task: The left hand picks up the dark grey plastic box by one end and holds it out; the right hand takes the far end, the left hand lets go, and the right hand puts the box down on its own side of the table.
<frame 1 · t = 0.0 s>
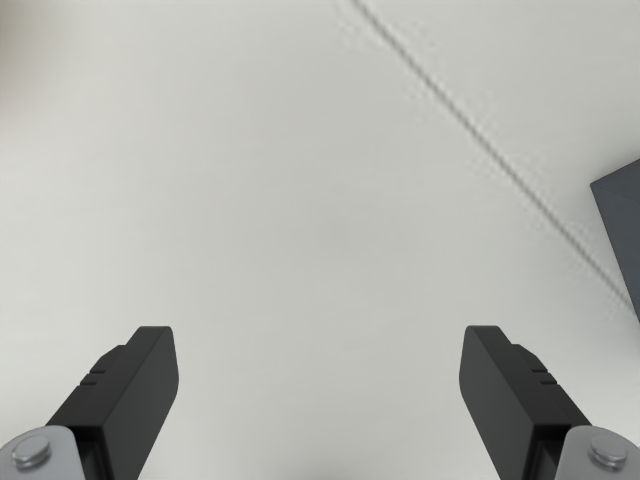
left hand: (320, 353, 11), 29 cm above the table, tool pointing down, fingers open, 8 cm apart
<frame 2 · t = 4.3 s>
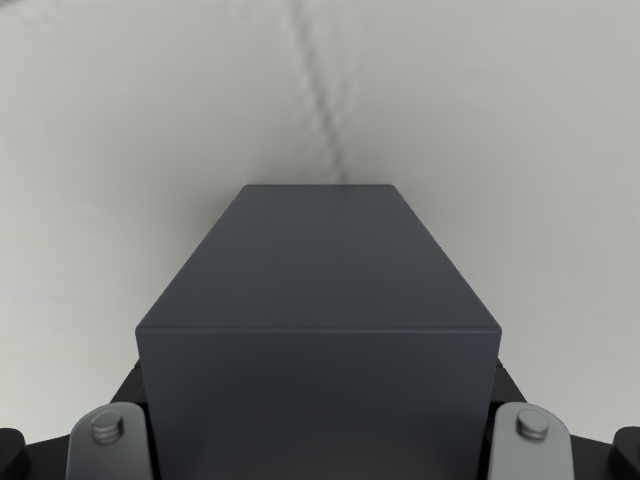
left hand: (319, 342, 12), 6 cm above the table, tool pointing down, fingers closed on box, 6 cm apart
box: (319, 410, 21), on the table, touching left hand
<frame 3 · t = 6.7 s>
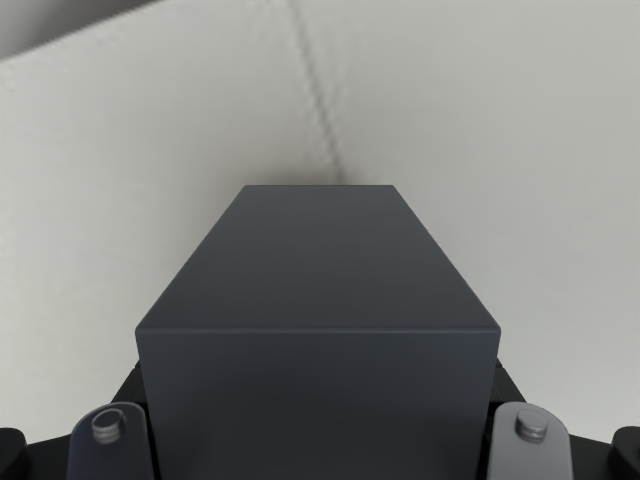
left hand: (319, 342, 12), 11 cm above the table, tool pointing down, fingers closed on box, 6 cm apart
box: (319, 410, 21), point 5 cm above the table, touching left hand
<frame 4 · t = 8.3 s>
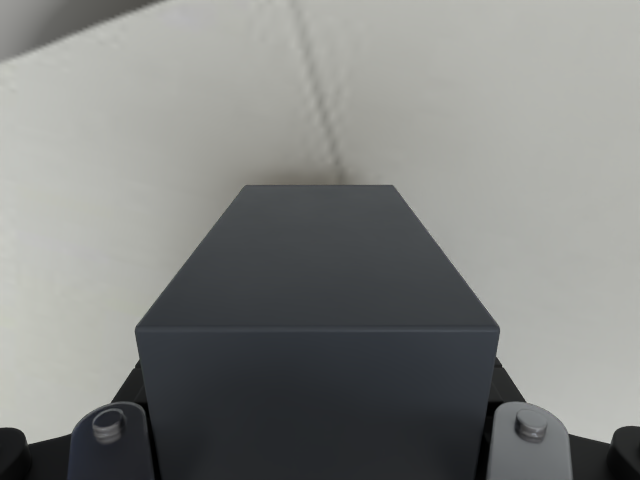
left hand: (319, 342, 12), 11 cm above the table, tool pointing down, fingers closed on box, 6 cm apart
box: (319, 410, 21), point 5 cm above the table, touching left hand, right hand
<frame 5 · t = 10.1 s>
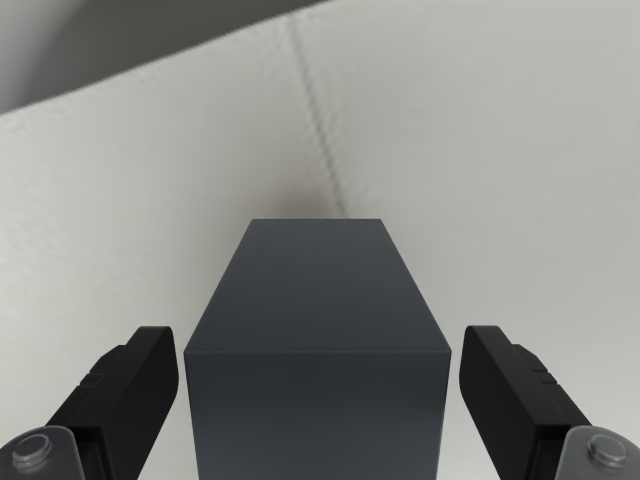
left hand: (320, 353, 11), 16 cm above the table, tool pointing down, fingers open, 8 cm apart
box: (316, 416, 23), point 8 cm above the table, touching right hand
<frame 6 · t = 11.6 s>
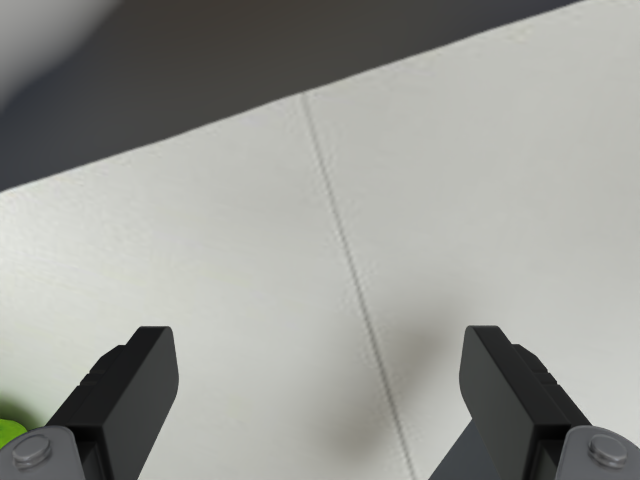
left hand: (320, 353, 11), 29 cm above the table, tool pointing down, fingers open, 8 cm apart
when the right hand's fingers open (8 cm above the table, at t = 15.1 s): box drops 2 cm, on the table.
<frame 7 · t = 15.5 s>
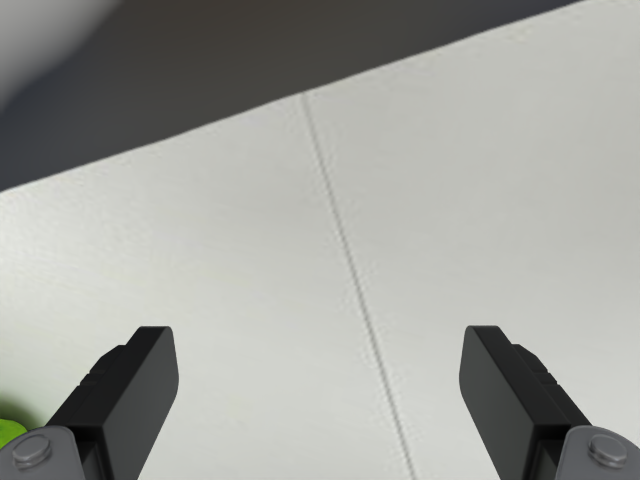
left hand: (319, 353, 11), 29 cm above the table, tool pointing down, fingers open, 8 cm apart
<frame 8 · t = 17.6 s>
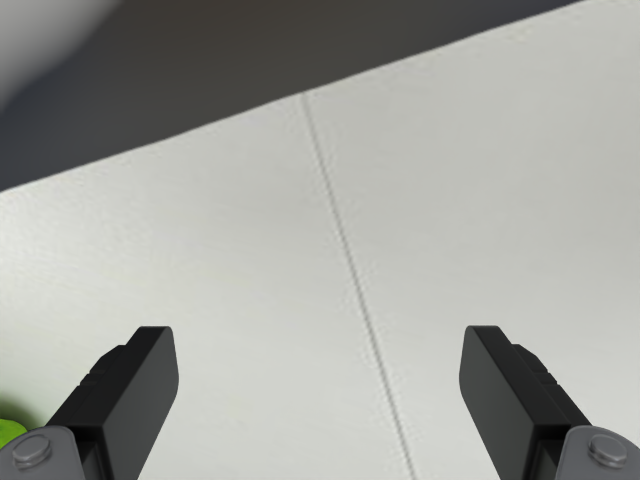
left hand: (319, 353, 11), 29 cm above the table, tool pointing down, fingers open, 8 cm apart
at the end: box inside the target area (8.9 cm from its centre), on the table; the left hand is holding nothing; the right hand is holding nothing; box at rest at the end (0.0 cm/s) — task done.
